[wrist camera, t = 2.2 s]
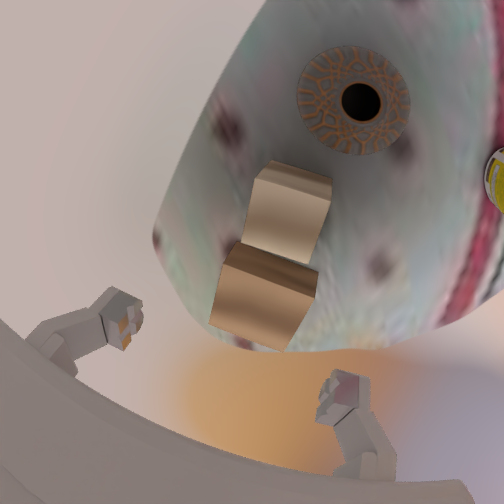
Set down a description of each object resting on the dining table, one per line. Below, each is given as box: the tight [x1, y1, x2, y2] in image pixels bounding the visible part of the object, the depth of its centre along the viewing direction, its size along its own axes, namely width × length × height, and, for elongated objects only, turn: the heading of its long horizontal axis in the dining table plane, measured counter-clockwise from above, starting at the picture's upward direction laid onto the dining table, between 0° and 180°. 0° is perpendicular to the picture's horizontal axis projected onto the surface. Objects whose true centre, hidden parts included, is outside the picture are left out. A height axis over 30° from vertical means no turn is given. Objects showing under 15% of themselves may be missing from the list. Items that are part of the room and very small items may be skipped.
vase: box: [297, 46, 410, 155], centre depth 14 cm, size 7×7×9 cm
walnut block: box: [209, 241, 318, 352], centre depth 28 cm, size 8×8×4 cm
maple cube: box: [241, 160, 332, 264], centre depth 21 cm, size 5×5×5 cm
